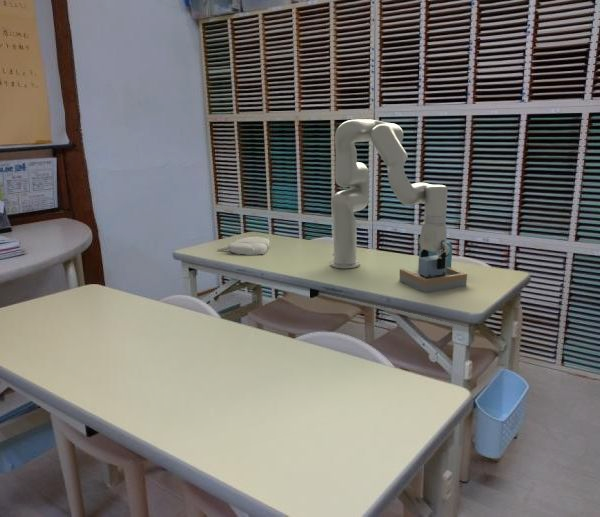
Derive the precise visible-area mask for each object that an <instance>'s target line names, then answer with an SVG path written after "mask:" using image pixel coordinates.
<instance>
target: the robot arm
mask: <svg viewBox="0 0 600 517" xmlns="http://www.w3.org/2000/svg"><path fill="white" fill-rule="evenodd" d="M403 139H404V132H403V129H402V128H401V127H400V125H398V124H396V123H391V122H385V121H381V120H375V119H350V120H346V121H344V122H342V123H341V124H340V125H339V126H338V127H337V129H336V131H335V135H334V147H335V162H334V163H335V164H334V166H335V170H334V173H335V174H334V175H335V177H334V178H335V183H336V184H337V185H338V186H339V187H341V188H349V189H344V190H339V191H337V192H336V193H334V194H333V196H332V197H331V200H330V205H331V206H330V207H331V211H332V218H333V219H332V220H333V253H332V256H333V260H331V261H330V264H329V265H330V266H331V267H332V268H336V269H344V270H345V269H355V268H358V267H359V266H360V265H361V262H360V261H359V260H358V259H357V235H358V234H357V230H358V229H357V219H356V217H355V212H360V211H362V210H364V209H365V208H366V207H367V206H368V204H369V198H370V197H369V196H370V172H369V169H368V167H367V165H366V164H365V163H363V162H359V161H358V160H357V159H358V158H357V157H358V154H357V153H358V152H357V148H356V146H355V143H364V142H371V143H372V144H373V146H374V148H375V149H376V150H377V153H378V154H379V156H380V158H381V159H382V161H383V162H384V164H385V165H386V168H387V178H388V179H387V180H388V183H389V186H390V188H391V190H392V192H393V194H394V195H395V197H396V198H397V199H398V201H399V202H400V203H401V204H402V205H404V206H408V207H410V206H415V205H419V204H423V203H424V216H423V217H424V218H423V222H422V226H421V230H420V237H418V238H417V241H418V247H419V250H420V252H421V257H428V256H429V252H428V251H430V252H433V253H437V255H438V257H439V258H437V269H444V268H445V259H446V258H447V256H448V255H449V252H450V247H449V246H448V245H447V244H446V243H447V241H448V240H447V239H448V238H447V237H448V236H447V224H446V222H447V207H448V206H447V205H448V187H447V186H446V185H443V184H430V183H426V182H415V183H411V182H410V180H409V179H408V176H407V175H406V173H405V169H404V168H405V164H406V161H407V160H408V156H409V155H408V153H407V151H406V150H405V148H404V147H403V145H402V144H401V143H402V142H403ZM441 252H442V254H440V253H441Z"/></svg>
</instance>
